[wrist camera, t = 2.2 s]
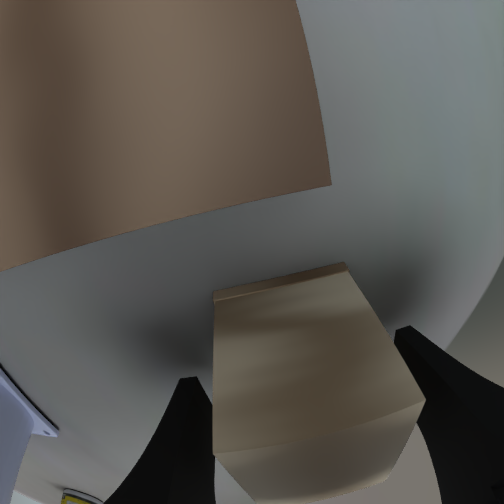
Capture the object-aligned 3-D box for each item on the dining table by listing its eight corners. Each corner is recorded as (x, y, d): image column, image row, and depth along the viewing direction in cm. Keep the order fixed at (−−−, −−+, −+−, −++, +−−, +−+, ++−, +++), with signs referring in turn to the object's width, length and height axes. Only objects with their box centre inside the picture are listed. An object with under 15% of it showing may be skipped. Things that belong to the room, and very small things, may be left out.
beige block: (250, 393, 13) (262, 510, 8) (213, 290, 10) (209, 453, 5) (345, 371, 13) (386, 480, 8) (343, 260, 10) (428, 397, 5)
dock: (-13, 260, 9) (-41, 287, 7) (-57, 4, 3) (-86, 2, 1) (309, 168, 9) (333, 186, 7) (225, -137, 3) (227, -168, 1)
